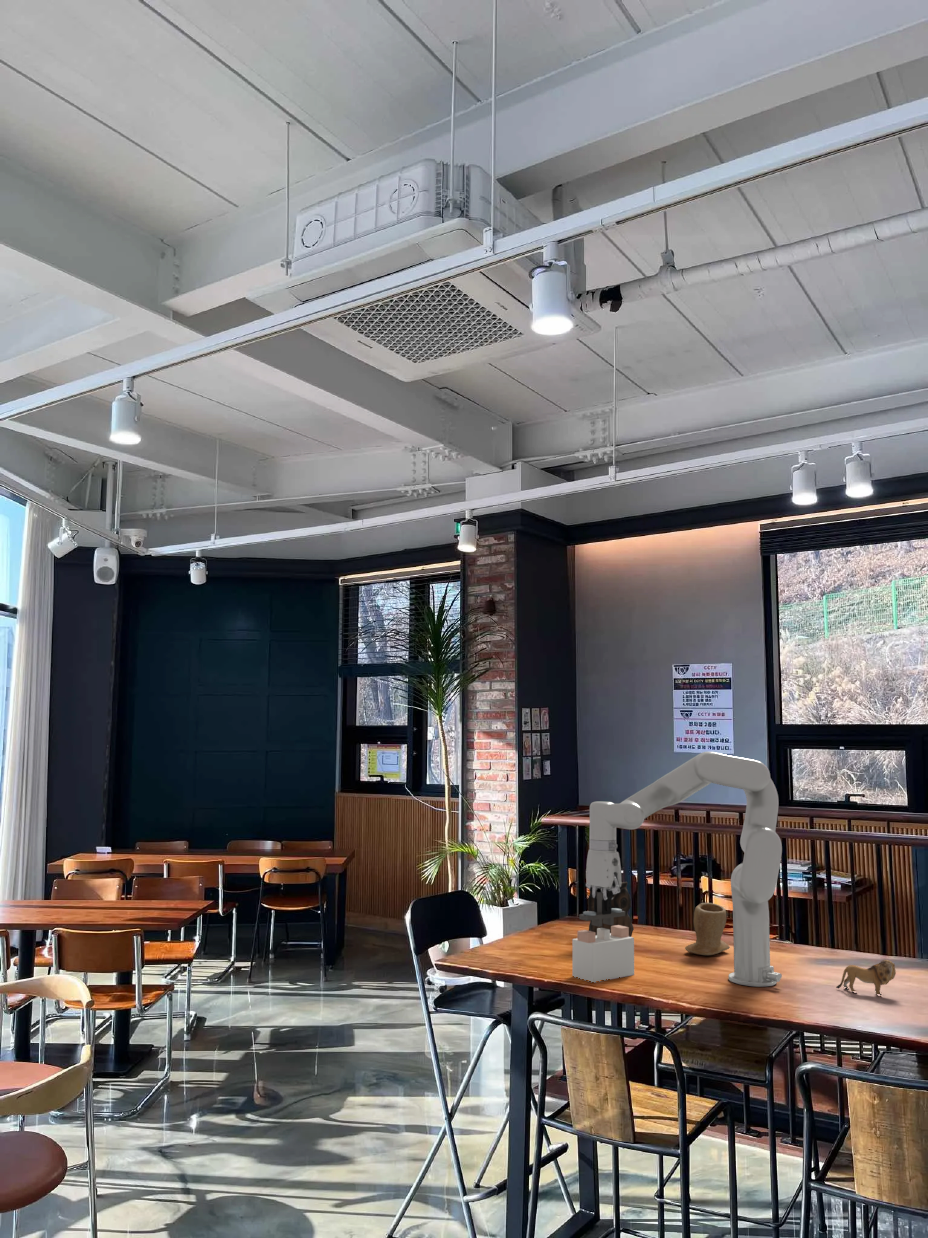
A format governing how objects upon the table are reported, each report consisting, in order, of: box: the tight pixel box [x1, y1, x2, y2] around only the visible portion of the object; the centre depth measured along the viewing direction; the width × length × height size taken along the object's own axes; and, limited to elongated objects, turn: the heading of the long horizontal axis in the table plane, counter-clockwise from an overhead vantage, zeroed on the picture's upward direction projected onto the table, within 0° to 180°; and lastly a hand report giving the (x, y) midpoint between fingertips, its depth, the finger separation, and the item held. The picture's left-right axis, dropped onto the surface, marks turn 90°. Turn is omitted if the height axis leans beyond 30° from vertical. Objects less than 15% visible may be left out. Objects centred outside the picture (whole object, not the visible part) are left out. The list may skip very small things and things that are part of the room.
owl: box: [587, 881, 635, 937], centre depth 299 cm, size 13×13×20 cm
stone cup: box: [684, 902, 730, 956], centre depth 291 cm, size 15×12×15 cm
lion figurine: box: [835, 959, 897, 995], centre depth 246 cm, size 15×5×9 cm, turn 65°
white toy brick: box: [571, 925, 635, 983], centre depth 261 cm, size 8×16×12 cm, turn 126°
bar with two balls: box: [579, 892, 625, 927], centre depth 262 cm, size 4×15×9 cm, turn 126°
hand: (602, 912), depth 262 cm, fingers closed on bar with two balls, 2 cm apart
